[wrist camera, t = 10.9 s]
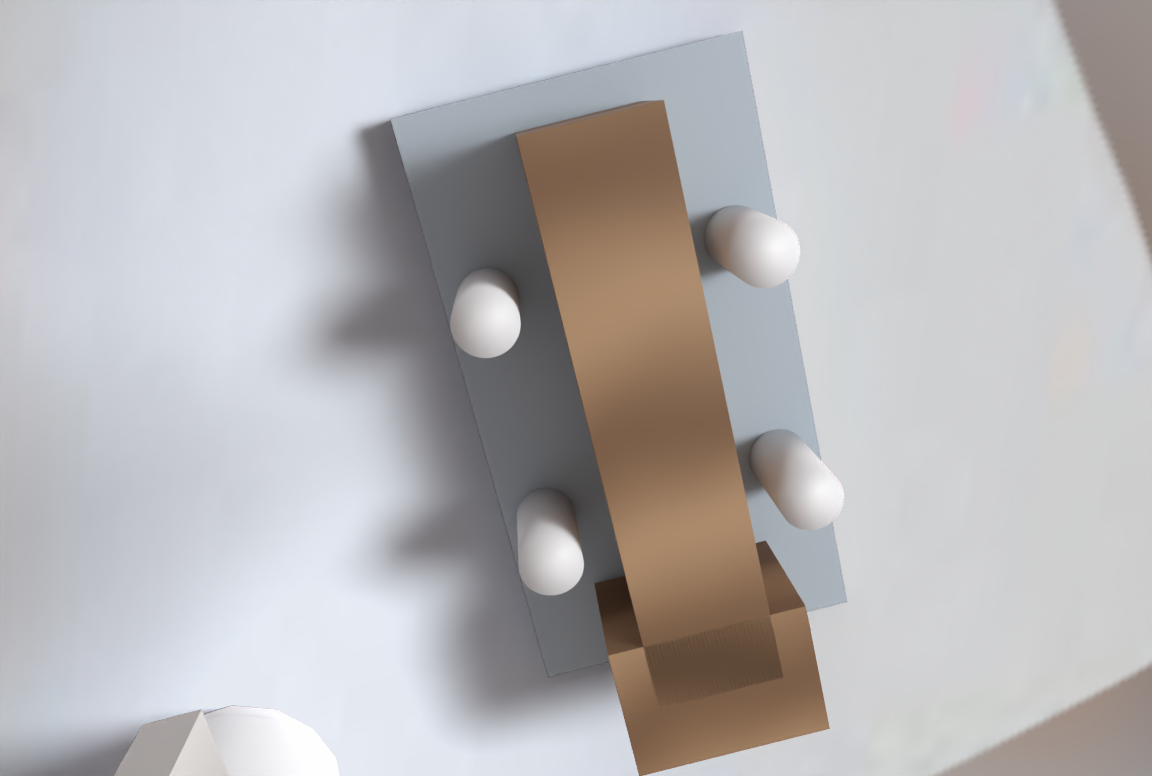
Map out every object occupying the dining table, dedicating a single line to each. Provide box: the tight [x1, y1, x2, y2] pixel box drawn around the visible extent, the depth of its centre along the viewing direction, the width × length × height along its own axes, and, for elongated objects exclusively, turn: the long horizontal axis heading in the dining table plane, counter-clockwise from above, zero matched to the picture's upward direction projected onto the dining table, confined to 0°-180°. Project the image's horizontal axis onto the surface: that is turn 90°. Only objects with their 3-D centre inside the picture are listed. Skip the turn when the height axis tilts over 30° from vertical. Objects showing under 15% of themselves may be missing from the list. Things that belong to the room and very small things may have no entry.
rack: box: [391, 31, 847, 677], centre depth 29 cm, size 18×10×5 cm, turn 14°
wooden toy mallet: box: [515, 100, 830, 776], centre depth 29 cm, size 18×6×4 cm, turn 14°
